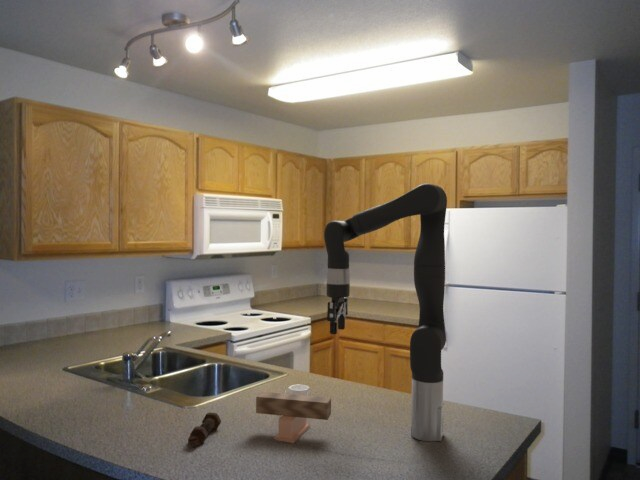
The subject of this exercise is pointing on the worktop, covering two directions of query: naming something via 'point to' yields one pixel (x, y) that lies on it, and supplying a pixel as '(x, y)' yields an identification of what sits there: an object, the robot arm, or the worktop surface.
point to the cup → (298, 390)
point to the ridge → (291, 428)
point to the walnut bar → (293, 405)
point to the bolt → (204, 429)
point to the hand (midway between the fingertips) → (337, 331)
